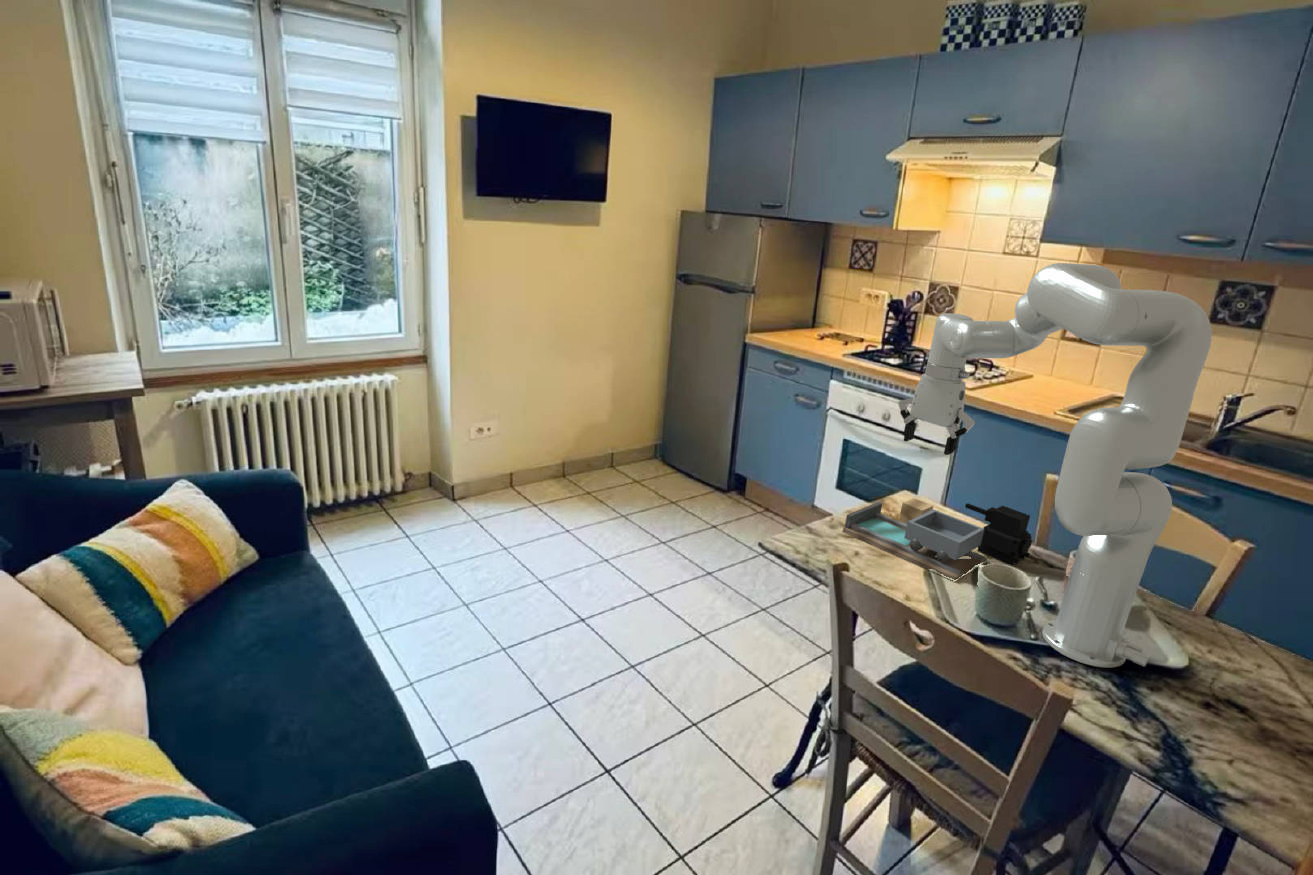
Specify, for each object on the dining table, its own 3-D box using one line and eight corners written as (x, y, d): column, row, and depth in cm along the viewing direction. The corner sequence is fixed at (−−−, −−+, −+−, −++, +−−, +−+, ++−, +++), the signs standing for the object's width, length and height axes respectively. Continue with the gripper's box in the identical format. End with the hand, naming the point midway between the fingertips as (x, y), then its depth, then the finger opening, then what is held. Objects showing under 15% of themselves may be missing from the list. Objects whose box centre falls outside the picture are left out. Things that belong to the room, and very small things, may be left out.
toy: (966, 533, 163) (976, 493, 160) (1029, 559, 153) (1041, 516, 150) (950, 541, 158) (960, 500, 155) (1014, 568, 148) (1026, 525, 145)
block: (929, 525, 166) (933, 505, 164) (918, 530, 162) (922, 510, 161) (909, 517, 169) (913, 497, 167) (898, 522, 166) (902, 502, 164)
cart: (978, 552, 149) (984, 528, 147) (953, 567, 142) (959, 542, 140) (928, 531, 157) (933, 509, 155) (902, 545, 149) (907, 521, 148)
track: (986, 562, 150) (990, 545, 148) (954, 582, 141) (959, 564, 139) (876, 516, 167) (879, 501, 166) (842, 531, 158) (845, 515, 157)
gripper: (991, 380, 150) (973, 456, 156) (916, 361, 162) (901, 432, 168) (975, 384, 145) (957, 462, 151) (898, 364, 157) (884, 438, 163)
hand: (927, 446), depth 159 cm, fingers open, 9 cm apart
